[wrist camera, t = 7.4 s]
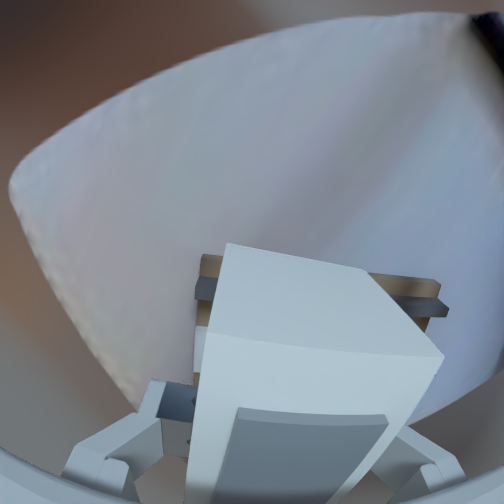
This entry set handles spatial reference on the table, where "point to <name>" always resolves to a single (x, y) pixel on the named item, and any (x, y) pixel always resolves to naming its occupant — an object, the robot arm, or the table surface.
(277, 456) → the block
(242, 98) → the table surface
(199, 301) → the rail board
